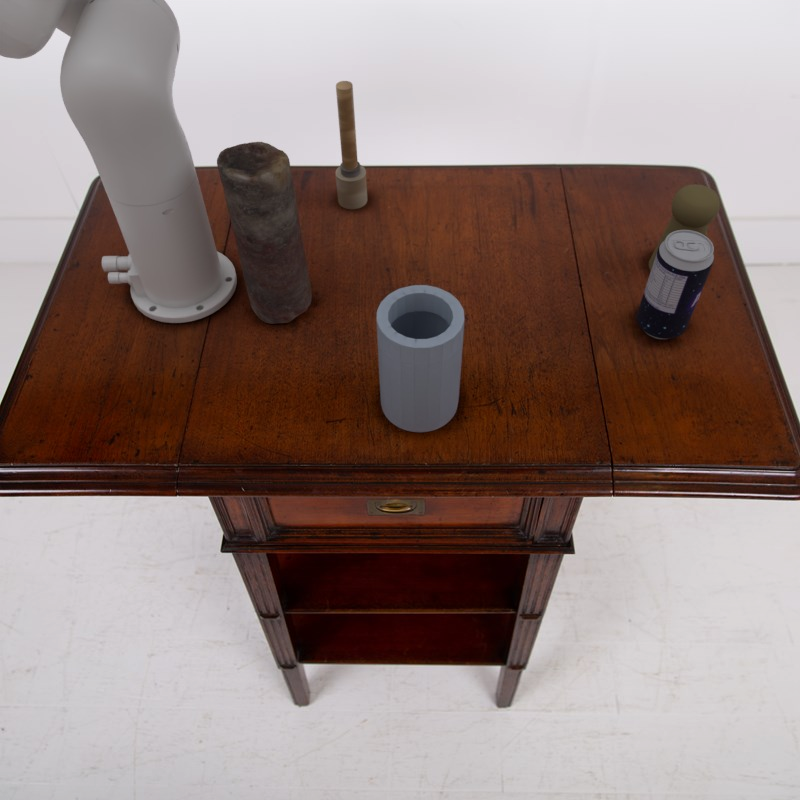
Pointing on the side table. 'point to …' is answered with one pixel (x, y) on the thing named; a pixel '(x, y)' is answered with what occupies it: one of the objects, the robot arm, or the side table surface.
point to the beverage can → (675, 284)
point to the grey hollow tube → (420, 356)
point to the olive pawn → (691, 212)
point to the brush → (349, 153)
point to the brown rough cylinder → (266, 229)
